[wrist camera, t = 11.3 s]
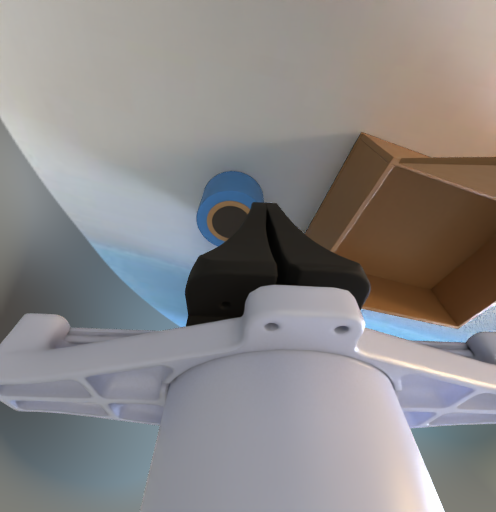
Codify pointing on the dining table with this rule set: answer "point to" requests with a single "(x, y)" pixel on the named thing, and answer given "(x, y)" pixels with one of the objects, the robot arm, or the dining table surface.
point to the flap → (460, 171)
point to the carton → (411, 236)
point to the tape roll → (226, 205)
